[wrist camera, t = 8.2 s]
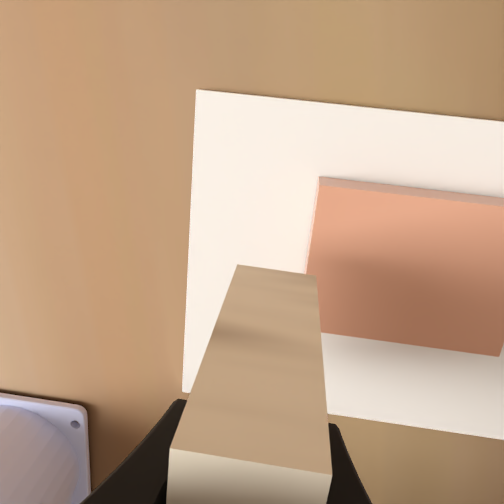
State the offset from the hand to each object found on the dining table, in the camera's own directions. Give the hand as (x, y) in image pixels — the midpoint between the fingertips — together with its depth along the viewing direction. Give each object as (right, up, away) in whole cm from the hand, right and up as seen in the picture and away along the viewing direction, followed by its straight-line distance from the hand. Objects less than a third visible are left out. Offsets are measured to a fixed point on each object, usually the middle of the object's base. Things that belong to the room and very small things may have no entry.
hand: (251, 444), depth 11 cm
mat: (+5, +3, +9) cm, 11 cm away
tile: (+6, +1, +8) cm, 10 cm away
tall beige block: (0, +1, +5) cm, 5 cm away
